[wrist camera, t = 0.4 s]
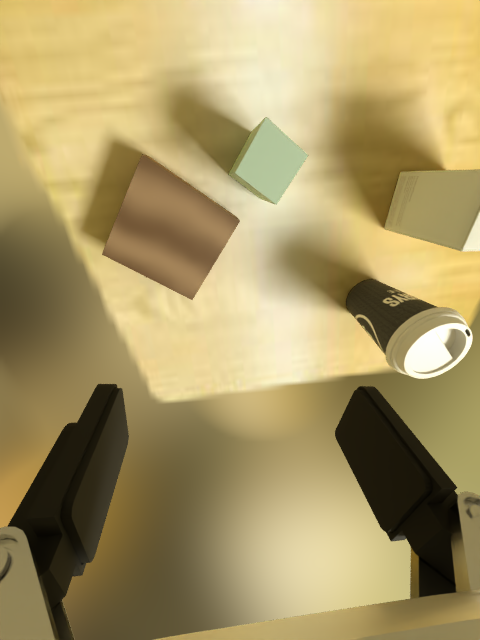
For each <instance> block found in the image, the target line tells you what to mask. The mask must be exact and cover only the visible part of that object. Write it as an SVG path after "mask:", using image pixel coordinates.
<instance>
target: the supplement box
mask: <svg viewBox="0 0 480 640" xmlns="http://www.w3.org/2000/svg"><path fill="white" fill-rule="evenodd" d="M385 230H389V231H392V232H396V233H399V234H403V235H406V236H410V237H413V238H417V239H420V240H424V241H428V242H431V243H435V244H438V245H442V246H445V247H449V248H452V249H456V250H459V251H480V170H440V171H407V172H400V175H399V178H398V182H397V185H396V189H395V192H394V195H393V199H392V202H391V205H390V209H389V213H388V216H387V220H386V223H385Z"/></svg>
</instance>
